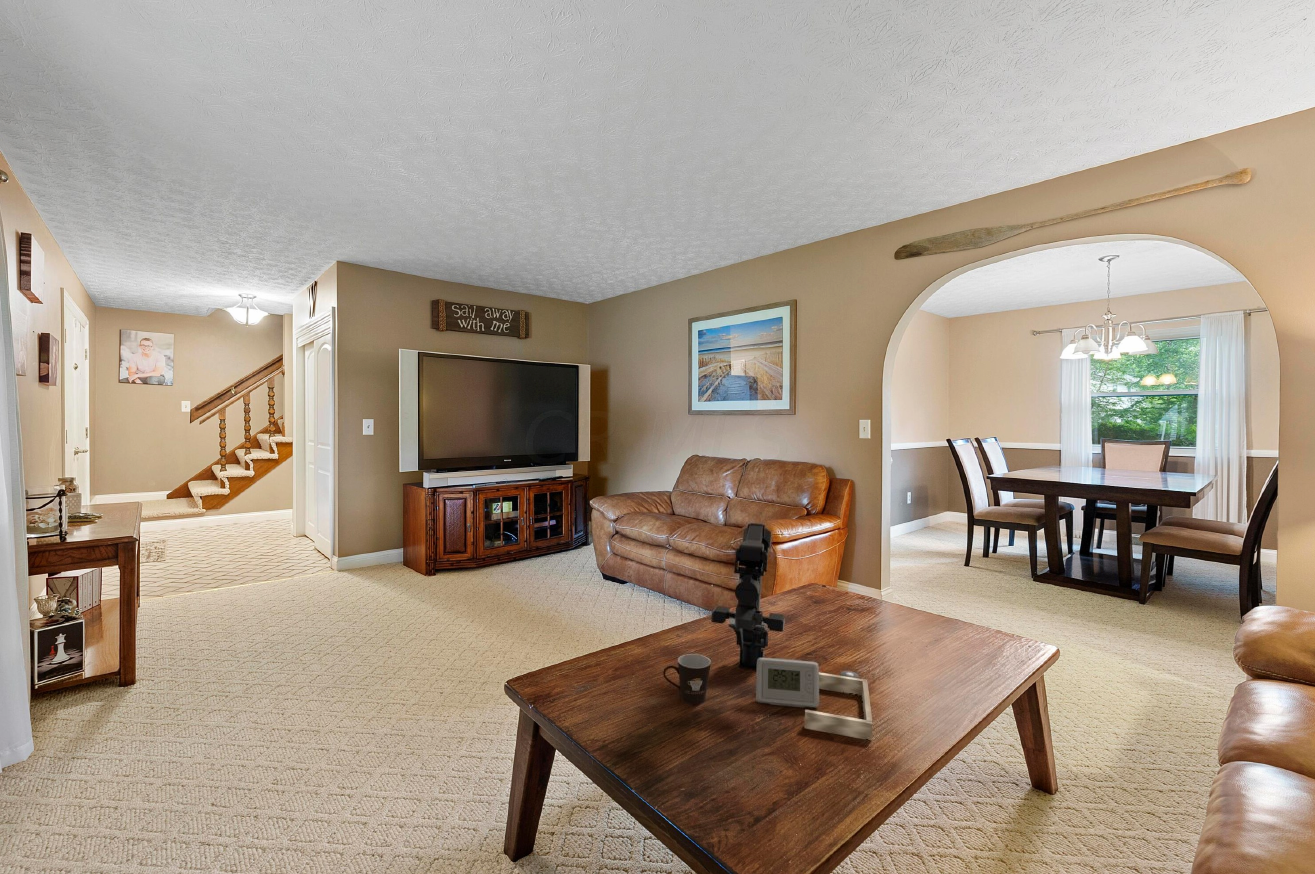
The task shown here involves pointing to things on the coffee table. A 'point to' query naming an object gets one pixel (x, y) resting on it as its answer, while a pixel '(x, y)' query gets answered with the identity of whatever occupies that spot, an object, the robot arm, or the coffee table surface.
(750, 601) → the robot arm
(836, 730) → the bay
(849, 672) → the wheel
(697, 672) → the coffee mug
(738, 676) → the coffee table surface
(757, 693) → the digital clock
